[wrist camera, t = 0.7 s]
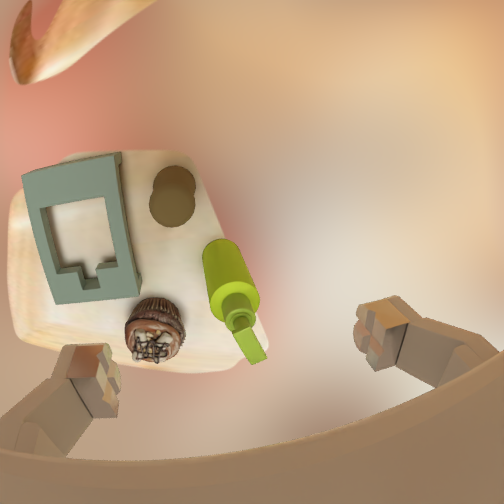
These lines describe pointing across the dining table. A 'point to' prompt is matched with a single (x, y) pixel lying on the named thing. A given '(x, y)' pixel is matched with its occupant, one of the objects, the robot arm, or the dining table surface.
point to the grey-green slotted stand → (109, 186)
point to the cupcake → (154, 331)
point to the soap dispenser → (233, 295)
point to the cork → (173, 196)
